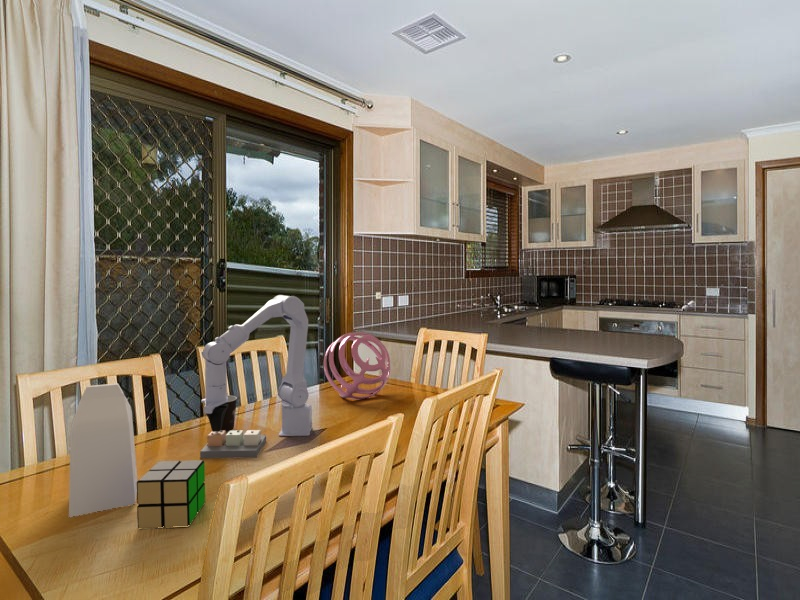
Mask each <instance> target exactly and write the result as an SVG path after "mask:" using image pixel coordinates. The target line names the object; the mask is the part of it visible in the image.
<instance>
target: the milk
mask: <svg viewBox="0 0 800 600" xmlns="http://www.w3.org/2000/svg"><path fill="white" fill-rule="evenodd" d="M69 441H70V445H69V447H70V449H69V450H70V451H69V485H68V486H69V492H68V493H69V494H68V495H69V496H68V518H69V517H70V518H74V517H73V516H75V517H80V516H84V515H83V514H85V515H88V513H90V514H93V513H92V512H96V513H98V512H97V511H101V512H104V511H103V510H106V511H108V510H107V509H111V510H113V509H112V508H116V509H118V508H117V507H121V508H123V507H122V506H126V507H129V506H128V505H131V506H134V505H133V504H135V505H136V503H137V481H138V470H137V459H136V446H135V445H136V444H135V433H134V422H133V412H132V406H131V404H130V403H129V400H128V399H127V397H126V396H125V393H124V391H123V389H122V388H121V386H120V383H118V382H117V383H107V384H104V383H103V384H95V385H93V384H92V385H87V386H86V387H85V389H84V392H83V393H82V395H81V398H80V399H79V402H78V405H77V408H76V412H75V414H74V417H73V419H72V423H71V428H70V440H69ZM135 502H136V503H135ZM79 515H80V516H79Z"/></svg>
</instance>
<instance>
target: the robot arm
mask: <svg viewBox="0 0 800 600" xmlns="http://www.w3.org/2000/svg"><path fill="white" fill-rule="evenodd" d="M273 318H283V319H284V320H285V321H286V322H287V323H288V324H289V326H290V329H289V330H290V331H289V340H288V342H289V343H288V350H287V351H288V352H287V362H286V372H285V375H284V376H283V377H282V380H281V384H280V386H279V387H278V390H277V393H278V394H277V395H278V397H279V398H280V400H281V429H280V432H279V433H278V437H289V436H290V437H296V436H297V437H298V436H299V437H301V436H302V437H303V436H306V437H307V436H310V434H311V431H312V428H313V417H312V414H313V413H312V412H313V411H312V404H307V401H308V400H309V391H308V388H307V387H308V383H307V380H306V378H305V376H304V372H305V360H306V350H307V341H308V340H307V339H308V331H309V318H308V315H307V313H306V311H305V303H304V302H303V301H302V300H301V299H300V298H299V297H297V296H295V295H291V296H290V295H284V294H278V295H275V296H274V297H273V298H272V299H270V300H268V301H267V302H266V303H265V304H264V305H263V306H262V307H261V308H260V309H258V310H257V311H256V312H255V313H254V314H253V315H252V316H250V317H249V318H248V319H247V320H246V321H245V322H243V323H242V324H234V325H230V326H228V328H227V329H228V330H227V331H225V332H224V333H223V334H221V335H220V336H217V337H215V338H214V341H211V342H208V343H207V344H205V345H204V347H203V349H202V351H201V356H202V358H203V359H204V363H205V367H204V377H205V378H204V380H205V381H204V386H205V390H204V392H205V398H202V399H201V401H200V402H201V403H202V404H204V406H203V414H204V415H206V416H207V419H208V420H209V421H208V422H209V425H210V429H211V432H220V431H221V428H222V424H223V419H224V415H225V412H226V410H227V408H228V404H224V403H226V402H227V401H228V396H229V395H228V378H227V377H228V376H227V374H228V373H227V371H228V370H227V361H228V360H229V359H230V356H231V354H232V353H234V352H235V351H236V350H237V349H239V347H241V346H242V345H243V344H244V343H246V342H247V341H248V340H249V339H250V333H252V332H253V331H255V330H256V329H258V328H259V327H260V326H262V325H263V324H264V323H266V322H267V321H269V320H270V319H273Z"/></svg>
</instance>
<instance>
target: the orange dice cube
mask: <svg viewBox="0 0 800 600" xmlns="http://www.w3.org/2000/svg"><path fill="white" fill-rule="evenodd" d="M226 434H227V432H226V431H220V432H212V431H211V432H209V433H208V434H207V443H208V446H223V445H224V443H225V442H226Z"/></svg>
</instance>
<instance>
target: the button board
mask: <svg viewBox="0 0 800 600" xmlns="http://www.w3.org/2000/svg"><path fill="white" fill-rule="evenodd" d="M266 443H267V434H261V442H260V443H259V445H250V446H244V434H243V443H242V444H241V445H240V446H226V442H225V443H224V445H223V446H208V442H207V443H206V444H205V445H204V447H203V448H202V449H201V450H200V451H199V455H200V456H199V458H200V459H236V458H237V459H239V458H243V459H244V458H247V459H248V458H251V459H252V458H257V457H258V455H260V452H261V451H262V449H263V447H264V446H265V444H266Z"/></svg>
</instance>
